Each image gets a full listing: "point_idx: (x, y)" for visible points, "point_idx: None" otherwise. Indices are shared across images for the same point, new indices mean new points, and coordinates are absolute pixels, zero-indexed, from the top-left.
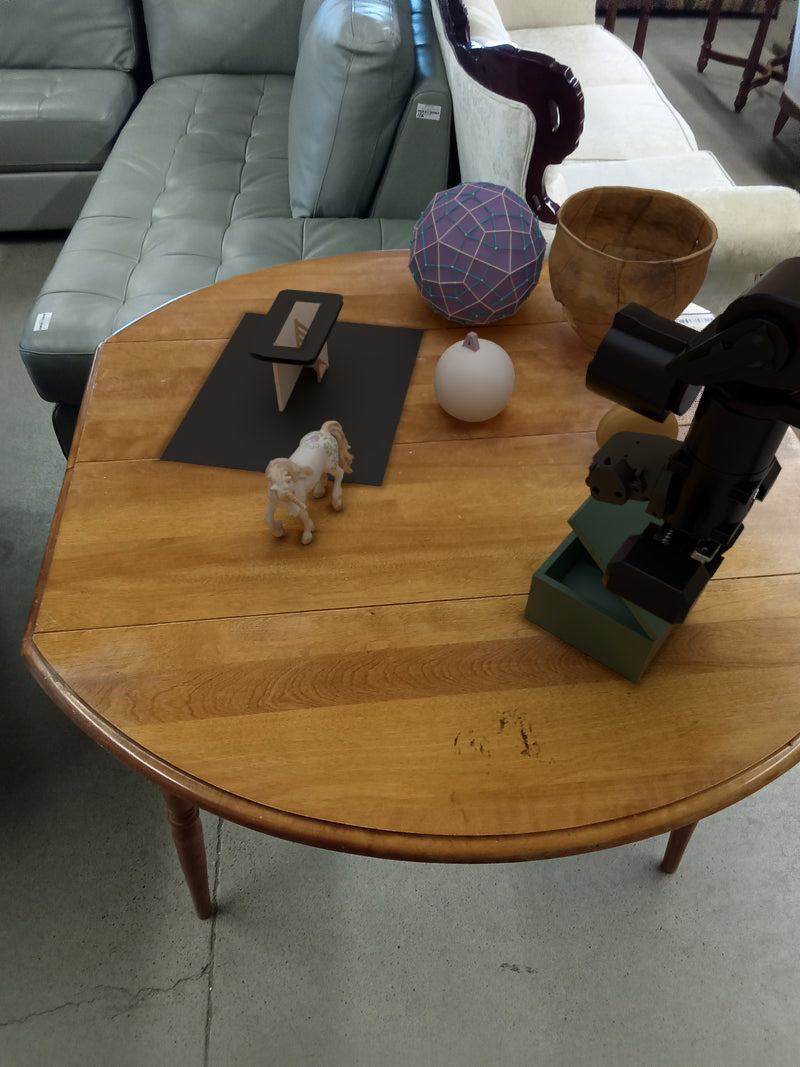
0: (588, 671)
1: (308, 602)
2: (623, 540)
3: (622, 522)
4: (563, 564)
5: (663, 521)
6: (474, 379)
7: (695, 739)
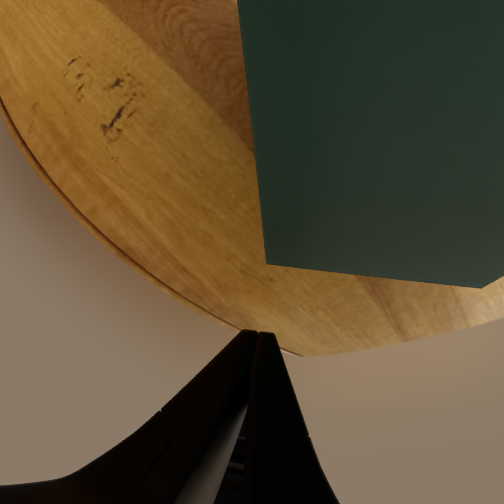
0: None
1: None
2: (422, 142)
3: (494, 118)
4: None
5: None
6: None
7: (248, 285)
